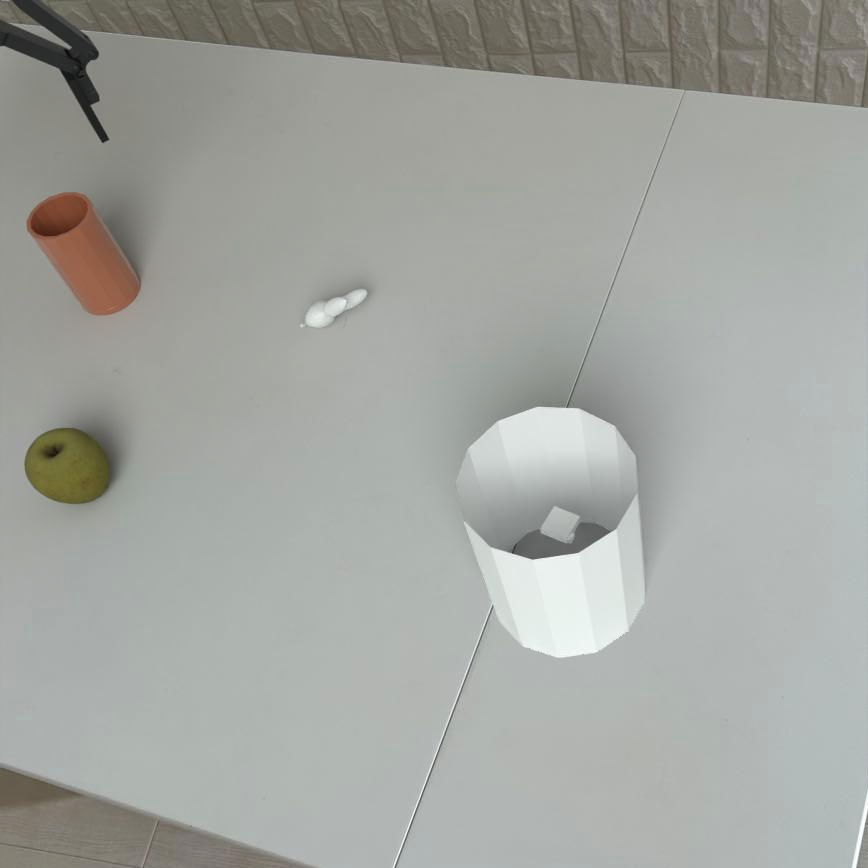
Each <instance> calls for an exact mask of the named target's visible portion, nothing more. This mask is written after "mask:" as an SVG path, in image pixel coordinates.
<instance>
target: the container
mask: <svg viewBox="0 0 868 868" xmlns="http://www.w3.org/2000/svg"><path fill="white" fill-rule="evenodd" d="M638 478H639V477H638V465H637V456H636V455H635V453H634V452H633V450H632V449H631V447H630V445H629V444H628V443H627V441H626V440H625V439H624V437H623V436H622V434H621V432H620V431H619V430H618V428H617V427H616V426H615V425H614V424H612V423H609V422H608V421H605V420H603V419H602V418H600V417H598V416H596V415H594V414H592V413H589V412H587V411H585V410H583V409H581V408H577V407H555V406H554V407H553V406H535V407H533V408H529V409H527V410H523V411H522V412H518V413H516V414H513V415H511V416H507V417H505V418H502V419H499V420H497V421H496V422H495V423H493V425H491V427H489V428H488V429H487V430H486V431H485V432H484V433H483V434H482V435H480V437H479V438H478V439H476V441H474V442H473V443H472V444H471V445H470V446H468V448H467V450H466V453H465V455H464V458H463V461H462V464H461V467H460V469H459V472H458V475H457V478H456V481H455V483H454V485H455V489H456V494H457V498H458V503H459V507H460V513H461V517H462V521H463V524H464V527H465V529H466V532H467V536H468V538H469V540H470V544H471V547H472V550H473V552H474V556H475V558H476V560H477V563H478V566H479V569H480V572H481V575H482V577H483V580H484V583H485V586H486V588H487V592H488V596H489V598H490V600H491V604H492V606H493V609H494V612H495V614H496V617H497V620H498V622H499V623H500V624H501V626H503V628H504V629H506V630H507V632H508V633H509V634H510V635H511V636H512V637H513V638H514V639H515V640H516V641H517V642H518V643H519V644H520V645H521V647H523V648H526V649H529V648H530V649H529V650H531V651H535V652H538V651H539V653H541V652H542V654H545V655H548V656H550V655H551V657H553V658H557V659H561V658H569V657H575V656H583V655H582V654H584V655H590V653H591V654H597V653H598V652H600V651H602V650H603V649H604V647H605V648H606V647H607V645H608V646H610V643H611V644H613V641H614V640H615V641H617V640H618V639H620V638H621V637H623V636H624V635H626V634H627V633H629V632H630V630H629V629H631V628H632V626H633V624H634V623H635V621H636V619H637V617H638V615H639V614H640V612H641V610H640V609H642V608H643V606H644V604H645V603H646V574H645V573H646V572H645V570H646V569H645V556H644V544H643V533H642V532H643V531H642V529H643V528H642V518H641V506H640V504H641V503H640V496H639V495H640V492H639V479H638ZM580 523H586V524H597V525H599V526H600V525H601V526H600V527H602V526H603V527H602V528H604V529H606V530H608V531H609V533H607V534H606V535H604V536H603V537H601V538H599V539H598V540H596V541H595V542H593V543H591V544H590V545H589V546H587V547H585V548H584V549H582V550H581V551H579V552H576V553H569V554H562V555H555V556H550V557H549V556H548V557H542V558H535V559H531V558H528V557H525V556H522V555H519V554H515V553H511V552H510V551H511V550H512V549H513V548H514V547H515V546H516V545H517V544H518V543H519V542H520V541H521V540H523V538H524V537H526V535H527V534H530V533H532V532H535V531H538V530H540V534H542V535H544V536H547V537H549V538H551V539H554V540H556V541H559V542H562V543H564V544H568V543H569V544H572V543H573V542H574V539H575V538H576V536H575V535H576V534H575V532H576V530H577V528H578V527H579V525H580ZM611 531H612V532H611ZM642 605H643V606H642ZM641 607H642V608H641ZM637 614H638V615H637ZM636 616H637V617H636ZM635 618H636V619H635ZM634 620H635V621H634ZM632 623H633V624H632ZM631 625H632V626H631ZM630 627H631V628H630ZM626 632H627V633H626ZM625 633H626V634H625ZM623 634H624V635H623ZM622 635H623V636H622ZM620 636H621V637H620ZM619 637H620V638H619ZM616 639H617V640H616ZM615 641H614V642H615ZM599 650H600V651H599Z"/></svg>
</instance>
